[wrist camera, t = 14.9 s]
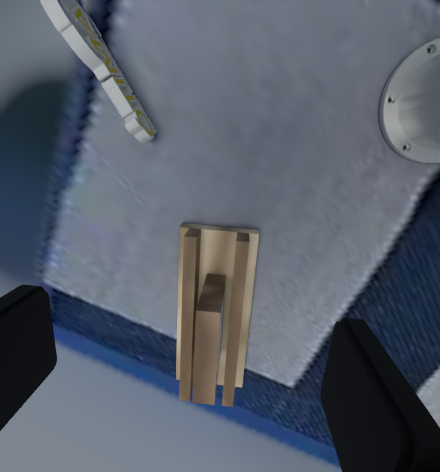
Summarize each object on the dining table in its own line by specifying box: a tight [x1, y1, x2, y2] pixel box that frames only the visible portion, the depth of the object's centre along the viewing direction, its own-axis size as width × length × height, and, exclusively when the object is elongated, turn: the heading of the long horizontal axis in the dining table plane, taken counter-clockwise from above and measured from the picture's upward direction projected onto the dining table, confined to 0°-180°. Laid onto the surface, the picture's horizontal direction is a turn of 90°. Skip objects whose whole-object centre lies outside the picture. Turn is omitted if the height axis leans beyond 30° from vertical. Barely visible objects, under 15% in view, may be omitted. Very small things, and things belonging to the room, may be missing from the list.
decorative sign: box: [40, 0, 156, 144], centre depth 30 cm, size 18×1×10 cm, turn 28°
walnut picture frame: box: [193, 273, 226, 405], centre depth 35 cm, size 2×12×9 cm, turn 177°
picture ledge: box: [176, 223, 259, 407], centre depth 38 cm, size 10×24×6 cm, turn 176°
